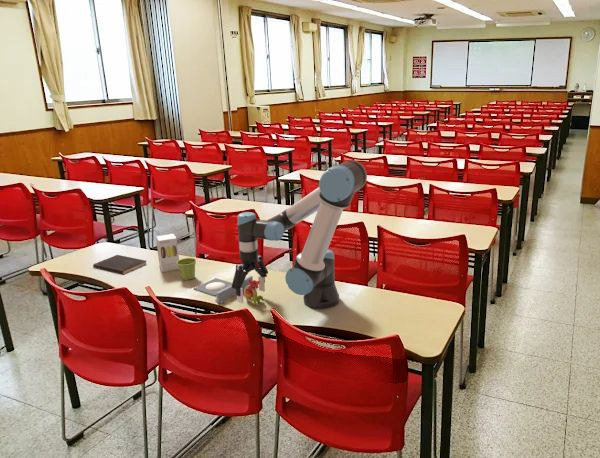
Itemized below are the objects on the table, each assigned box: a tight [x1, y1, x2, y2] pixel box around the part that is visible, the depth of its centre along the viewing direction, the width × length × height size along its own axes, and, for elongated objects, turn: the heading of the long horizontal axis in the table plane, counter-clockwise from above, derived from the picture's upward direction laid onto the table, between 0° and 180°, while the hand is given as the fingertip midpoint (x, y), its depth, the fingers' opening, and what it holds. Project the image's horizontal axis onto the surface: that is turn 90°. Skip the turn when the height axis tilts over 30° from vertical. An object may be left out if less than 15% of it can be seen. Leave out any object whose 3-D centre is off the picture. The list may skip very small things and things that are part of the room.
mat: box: [193, 277, 233, 297], centre depth 227 cm, size 14×14×1 cm
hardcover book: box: [92, 254, 147, 275], centre depth 259 cm, size 16×23×2 cm
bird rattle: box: [243, 279, 264, 306], centre depth 208 cm, size 6×11×9 cm
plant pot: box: [177, 257, 197, 281], centre depth 238 cm, size 9×9×9 cm
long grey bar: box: [215, 275, 254, 304], centre depth 219 cm, size 4×22×4 cm, turn 143°
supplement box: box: [155, 233, 180, 273], centre depth 251 cm, size 10×9×17 cm
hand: (251, 296), depth 209 cm, fingers open, 13 cm apart
